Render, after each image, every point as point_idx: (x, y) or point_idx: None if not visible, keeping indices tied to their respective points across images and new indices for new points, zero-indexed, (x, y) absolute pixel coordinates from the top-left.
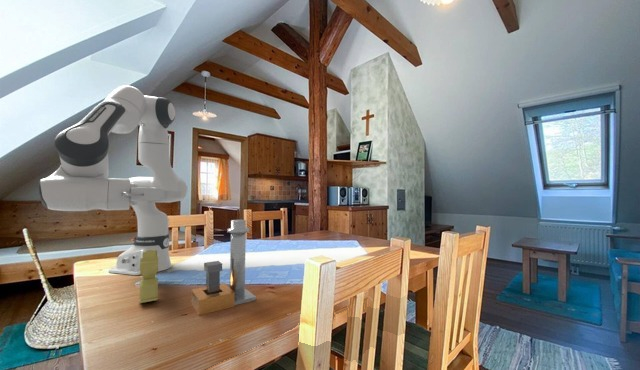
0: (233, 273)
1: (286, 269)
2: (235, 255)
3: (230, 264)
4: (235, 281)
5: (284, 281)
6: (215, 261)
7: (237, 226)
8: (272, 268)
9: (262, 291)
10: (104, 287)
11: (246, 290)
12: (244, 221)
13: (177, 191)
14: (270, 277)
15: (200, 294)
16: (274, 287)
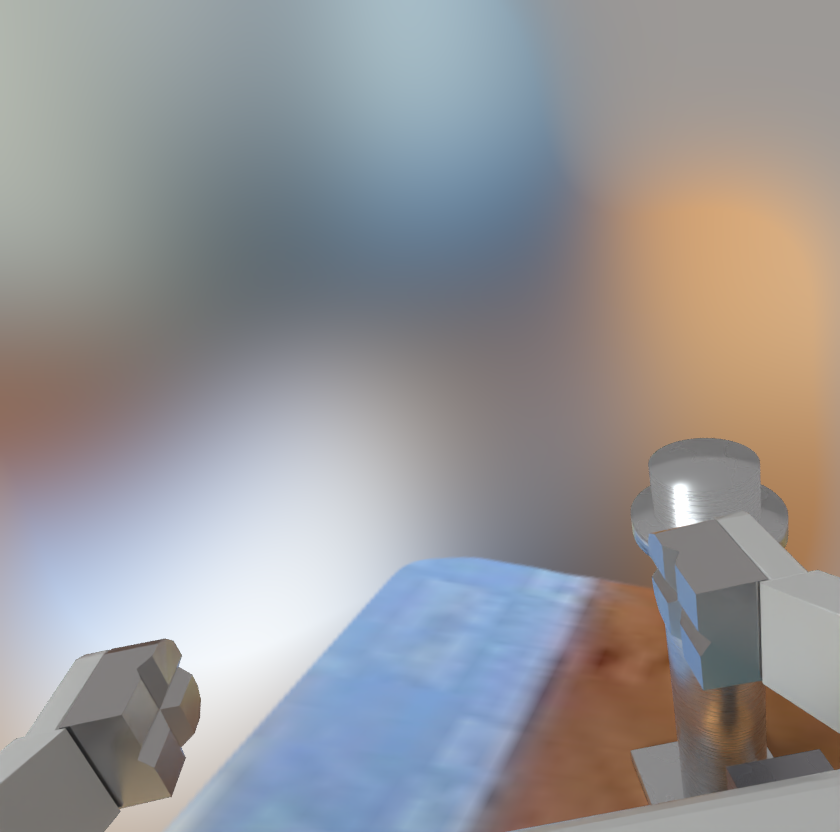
0: (762, 737)
1: (411, 581)
2: None
3: (736, 717)
4: (766, 758)
5: (552, 608)
6: (743, 785)
7: (760, 493)
8: (364, 619)
9: (645, 696)
10: None
11: (655, 751)
12: (729, 445)
13: (769, 537)
14: (476, 642)
15: None
16: (610, 649)
